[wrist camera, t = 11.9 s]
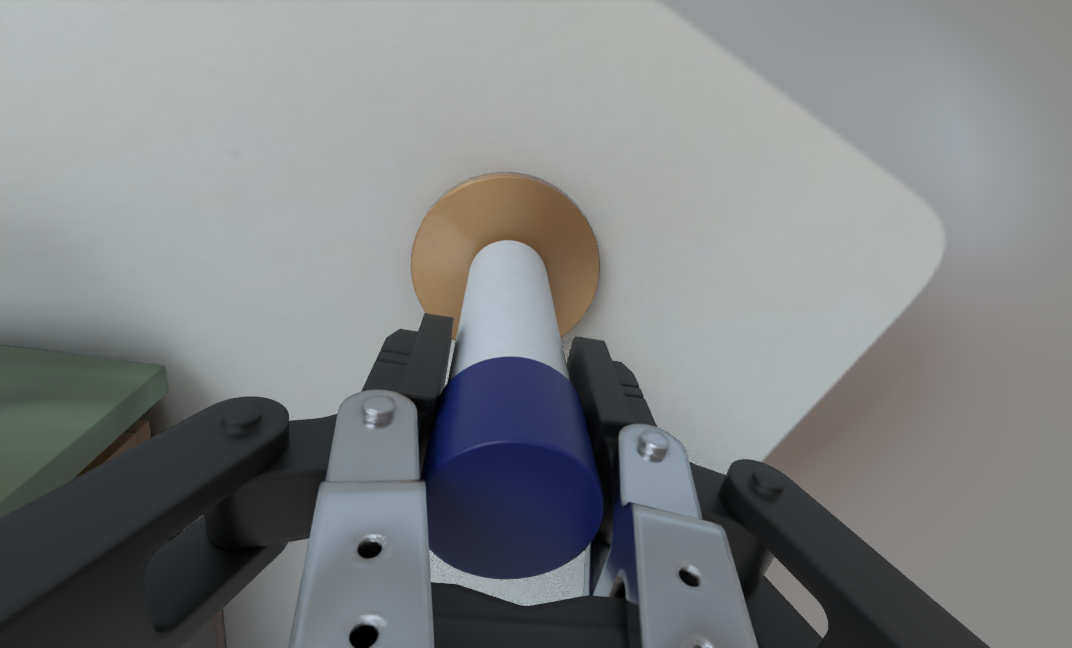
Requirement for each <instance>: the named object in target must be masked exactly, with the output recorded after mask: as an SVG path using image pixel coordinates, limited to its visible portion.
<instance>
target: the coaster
mask: <svg viewBox="0 0 1072 648" xmlns="http://www.w3.org/2000/svg"><path fill="white" fill-rule="evenodd" d="M503 240H512V241H518V242H521V243H524V244H526V245H528V246H530V247H531V248H532V249H534V250H535V251H536V252H537V253H538V254H539V256H540V257H541V259H542V260H543V262H544V265H545V268H546V272H547V276H548V281H549V286H550V290H551V295H552V300H553V305H554V309H555V314H556V319H557V323H558V328H559V333H560V337H562V336H564V335H565V334H567V333H568V332H569V331H570V330H571V329H572V328H573V327H574V326H575V325H576V324H577V323H578V322H579V321H580V319H581V318H582V317H583V315H584V314H585V312H586V311H587V309H588V308H589V306H590V304H591V302H592V300H593V298H594V295H595V292H596V289H597V285H598V280H599V271H600V260H599V251H598V246H597V242H596V239H595V236H594V234H593V231H592V229H591V227H590V225H589V223H588V221H587V219H586V218H585V216H584V215H583V213H582V212H581V210H580V209H579V208H578V206H577V205H576V204H575V203H574V202H573V201H572V200H571V199H570V198H569V197H568V196H567V195H566V194H564V193H563V192H562V191H561V190H559V189H558V188H556V187H555V186H553V185H551V184H549V183H548V182H545V181H543V180H541V179H538V178H536V177H532V176H528V175H525V174H518V173H491V174H484V175H481V176H478V177H474V178H471V179H469V180H467V181H464V182H462V183H460V184H458V185H457V186H455V187H454V188H452V189H450V190H449V191H448V192H447V193H445V194H444V195H443V196H442V197H441V198H440V199H439V200H438V201H437V202H436V203H435V204H434V205H433V206H432V207H431V209H430V210H429V212H428V213H427V215H426V216H425V218H424V220H423V221H422V223H421V225H420V227H419V229H418V232H417V234H416V237H415V240H414V243H413V249H412V254H411V273H412V281H413V285H414V288H415V292H416V294H417V297H418V299H419V302H420V304H421V305H422V307H423V309H424V311H425V312H426V313H427V314H434V315H441V316H447V317H454V324H453V331H452V339H454V340H456V337H457V332H458V327H459V322H460V317H461V311H462V306H463V301H464V296H465V291H466V286H467V281H468V275H469V270H470V266H471V264H472V261H473V260H474V258H475V256H476V255H477V254H478V253H479V252H480V251H481V250H482V249H483V248H484V247H486V246H488V245H489V244H492V243H494V242H498V241H503Z"/></svg>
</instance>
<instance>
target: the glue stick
mask: <svg viewBox="0 0 1072 648" xmlns="http://www.w3.org/2000/svg"><path fill="white" fill-rule="evenodd" d="M420 479H424V481H425V488H426V505H427V523H428V541H429V549H430V550H431V551H432V552H433V553H434V554H435V555H436V556H437V557H439V558H440V559H441V560H443V561H444V562H445V563H447V564H449V565H450V566H452V567H454V568H456V569H459V570H461V571H463V572H466V573H469V574H472V575H476V576H480V577H485V578H493V579H520V578H527V577H532V576H537V575H541V574H544V573H547V572H550V571H552V570H555V569H557V568H559V567H561V566H563V565H565V564H567V563H568V562H570V561H571V560H573V559H574V558H576V557H577V556H578V555H579V554H581V553H582V552H583V551H584V550H585V549H586V548H587V547H588V546H589V544H590V543H591V542H592V541H593V539H594V537H595V536H596V534H597V532H598V530H599V528H600V526H601V522H602V519H603V515H604V495H603V491H602V487H601V482H600V478H599V474H598V470H597V465H596V461H595V457H594V453H593V448H592V444H591V440H590V436H589V432H588V427H587V423H586V419H585V415H584V410H583V406H582V403H581V399H580V397H579V395H578V393H577V391H576V389H575V388H574V386H573V385H572V384H571V382H570V380H569V375H568V370H567V366H566V361H565V356H564V352H563V347H562V342H561V337H560V333H559V328H558V323H557V319H556V314H555V309H554V305H553V300H552V295H551V290H550V286H549V281H548V276H547V272H546V268H545V265H544V262H543V260H542V259H541V257H540V256H539V254H538V253H537V252H536V251H535V250H534V249H532V248H531V247H530V246H528V245H526V244H524V243H521V242H518V241H512V240H503V241H498V242H494V243H492V244H489V245H488V246H486V247H484V248H483V249H482V250H481V251H480V252H479V253H478V254H477V255H476V256H475V258H474V260H473V261H472V264H471V266H470V270H469V275H468V281H467V286H466V291H465V296H464V301H463V306H462V311H461V317H460V322H459V327H458V332H457V337H456V342H455V347H454V353H453V358H452V363H451V368H450V373H449V378H448V383H447V385H446V386H445V387H444V389H443V390H442V392H441V394H440V396H439V399H438V403H437V408H436V413H435V418H434V422H433V427H432V431H431V433H430V436H429V439H428V444H427V448H426V453H425V457H424V462H423V467H422V471H421V476H420Z"/></svg>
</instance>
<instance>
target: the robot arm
mask: <svg viewBox="0 0 1072 648" xmlns="http://www.w3.org/2000/svg"><path fill="white" fill-rule="evenodd" d="M453 324H454V317H447V316H441V315H434V314H427V313H425V314H424V317H423V319H422V322H421V325H420V328H419V331H418V332H417V331H410V330H403V329H399V330H398V331H396V332H394V333H393V334H391V335H390V336H388V337H387V338H386V340H385V342H384V344H383V346H382V348H381V352H380V353H379V355H378V357H377V360H376V361H375V363H374V365H373V368H372V370H371V372H370V374H369V376H368V378H367V380H366V383H365V385H364V387H363V389H362V391H361V392H359V393H356V394H354V395H352V396H350V397H348V398H347V399H345V400H344V401H343V402H342V404H341V405H340V407H339V410H338V414H335V415H332V416H328V417H323V418H317V419H306V420H293V421H289V414H288V411H287V409H286V408H285V407H284V406H283V405H282V404H280V403H278V402H277V401H274V400H271V399H268V398H263V397H239V398H232V399H228V400H224V401H222V402H219V403H216V404H214V405H212V406H210V407H208V408H206V409H204V410H202V411H200V412H199V413H197V414H195V415H193V416H191V417H189V418H187V419H185V420H184V421H182V422H180V423H178V424H176V425H174V426H172V427H170V428H169V429H167V430H165V431H163V432H161V433H159V434H157V435H155V436H154V437H152V438H150V439H148V440H146V441H144V442H142V443H140V444H139V445H137V446H135V447H133V448H131V449H129V450H127V451H125V452H124V453H122V454H120V455H118V456H116V457H114V458H112V459H110V460H109V461H107V462H105V463H103V464H101V465H99V466H97V467H95V468H94V469H92V470H90V471H88V472H86V473H84V474H82V475H80V476H79V477H77V478H75V479H73V480H71V481H69V482H67V483H65V484H64V485H62V486H60V487H58V488H56V489H54V490H52V491H50V492H49V493H47V494H45V495H43V496H41V497H39V498H37V499H36V500H34V501H32V502H30V503H28V504H26V505H24V506H22V507H21V508H19V509H17V510H15V511H13V512H11V513H9V514H7V515H6V516H4V517H2V518H0V648H181V647H182V646H183V645H184V644H185V643H186V642H187V641H188V640H189V639H190V638H191V637H192V636H193V635H195V634H196V633H197V632H198V631H199V630H200V629H201V628H202V627H203V626H204V625H205V624H206V623H207V622H208V621H209V620H210V619H211V618H212V617H214V616H215V615H216V614H217V613H218V612H219V611H220V610H221V609H222V608H223V607H224V606H225V605H226V604H227V603H228V602H229V601H230V600H231V599H233V598H234V597H235V596H236V595H237V594H238V593H239V592H240V591H241V590H242V589H243V588H244V587H245V586H246V585H247V584H248V583H249V582H251V581H252V580H253V579H254V578H255V577H256V576H257V575H258V574H259V573H260V572H261V571H262V570H263V569H264V568H265V567H266V566H267V565H268V564H270V563H271V562H272V561H273V560H274V559H275V558H276V557H277V556H278V555H279V554H280V553H281V552H282V551H283V550H284V548H285V547H286V545H287V544H288V542H291V541H296V540H302V539H308V538H309V542H308V548H307V553H306V558H305V563H304V568H303V574H302V579H301V584H300V589H299V594H298V599H297V605H296V610H295V615H294V620H293V625H292V631H291V636H290V641H289V646H288V648H990V647H989V646H988V645H986V644H985V643H984V642H983V641H982V640H980V639H979V638H978V637H977V636H975V634H973V633H972V632H971V631H970V630H968V629H967V628H966V627H965V626H964V625H963V624H961V623H960V622H959V621H958V620H957V619H956V618H954V617H953V616H952V615H951V614H950V613H948V612H947V611H946V610H945V609H944V608H943V607H941V606H940V605H939V604H938V603H937V602H935V601H934V600H933V599H932V598H931V597H930V596H928V595H927V594H926V593H925V592H924V591H922V590H921V589H920V588H919V587H917V586H916V585H915V584H914V583H913V582H912V581H910V580H909V579H908V578H907V577H906V576H905V575H903V574H902V573H901V572H900V571H899V570H898V569H896V568H895V567H894V566H893V565H892V564H890V563H889V562H888V561H887V560H886V559H884V558H883V557H882V556H881V555H880V554H878V553H877V552H876V551H875V550H874V549H873V548H871V547H870V546H869V545H868V544H867V543H866V542H864V541H863V540H862V539H861V538H859V537H858V536H857V535H856V534H855V533H854V532H852V531H851V530H850V529H849V528H848V527H846V526H845V525H844V524H843V523H842V522H841V521H839V520H838V519H837V518H836V517H835V516H834V515H832V514H831V513H830V512H829V511H828V510H826V509H825V508H824V507H823V506H822V505H821V504H819V503H818V502H817V501H816V500H814V499H813V498H812V497H811V496H810V495H809V494H808V493H806V492H805V491H804V490H803V489H801V488H800V487H799V486H798V485H797V484H796V483H794V482H793V481H792V480H791V479H790V478H789V477H787V476H786V475H785V474H783V473H782V472H780V471H779V470H777V469H775V468H773V467H771V466H769V465H767V464H764V463H762V462H758V461H754V460H746V459H743V460H738V461H735V462H733V463H732V464H731V466H730V468H729V470H728V472H727V474H726V475H724V474H721V473H718V472H715V471H712V470H709V469H706V468H704V467H701V466H698V465H695V464H693V463H691V462H689V459H688V455H687V452H686V450H685V448H684V446H683V445H682V444H681V442H680V441H679V440H677V439H676V438H675V437H674V436H673V435H671V434H669V433H668V432H666V431H664V430H662V429H660V428H657V426H656V423H655V421H654V419H653V417H652V414H651V412H650V410H649V407H648V405H647V403H646V401H645V399H643V397H644V396H643V394H642V391H641V389H639V385H638V382H637V380H636V378H635V375H634V374H633V373H632V372H631V371H630V370H629V369H628V368H627V367H626V366H625V365H624V364H623V363H622V362H618V361H612V359H611V357H610V354H609V352H608V349H607V346H606V344H605V342H604V341H602V340H595V339H589V338H582V337H575V338H574V340H573V342H572V346H571V349H570V353H569V357H568V361H567V365H566V366H567V370H568V375H569V380H570V382H571V384H572V385H573V386H574V388H575V389H576V391H577V393H578V395H579V397H580V399H581V403H582V406H583V410H584V415H585V419H586V423H587V427H588V432H589V436H590V440H591V444H592V448H593V453H594V457H595V461H596V465H597V470H598V474H599V478H600V482H601V487H602V491H603V495H604V515H603V519H602V522H601V526H600V528H599V530H598V532H597V534H596V536H595V537H594V539H593V541H592V542H591V543H590V544H589V546H588V547H587V548H586V549H585V568H584V591H583V596H582V597H577V598H571V599H566V600H560V601H555V602H549V603H544V604H538V605H533V606H521V605H517V604H514V603H511V602H508V601H505V600H502V599H499V598H496V597H493V596H490V595H487V594H484V593H481V592H478V591H475V590H472V589H469V588H466V587H463V586H460V585H457V584H446V583H433V582H431V577H430V559H429V541H428V523H427V505H426V488H425V481H424V479H420V476H421V471H422V467H423V462H424V457H425V453H426V448H427V444H428V439H429V436H430V433H431V431H432V427H433V422H434V418H435V413H436V408H437V403H438V399H439V396H440V394H441V392H442V390H443V389H444V386H445V380H446V373H447V366H448V359H449V352H450V345H451V338H452V331H453ZM203 514H204V516H203V517H202V518H200V519H199V520H197V521H196V522H195V523H193V524H192V525H191V526H189V527H188V528H187V529H185V530H184V531H183V532H181V533H180V534H178V535H177V536H176V537H174V538H173V539H172V540H170V541H169V542H168V543H166V544H165V545H164V546H162V545H163V544H164V543H165V542H167V541H168V540H169V539H171V538H172V537H173V536H175V535H176V534H177V533H179V532H180V531H181V530H183V529H184V528H186V527H187V526H188V525H190V524H191V523H192V522H194V521H195V520H196V519H198V518H199V517H201V516H202V515H203ZM161 546H162V547H161ZM160 547H161V548H160ZM774 557H776V558H777V559H778V560H779V561H780V562H781V563H782V564H783V565H784V566H785V567H786V568H787V569H788V571H789V572H791V574H792V575H793V576H794V577H795V578H796V579H797V580H798V581H799V582H800V583H801V584H802V585H803V586H804V587H805V588H806V589H807V590H808V591H809V592H810V593H811V594H812V595H813V596H814V597H815V598H816V599H817V600H818V601H819V603H820V604H821V605H822V607H823V609H824V611H825V613H826V615H827V619H828V631H827V633H826V635H825V636H824V638H822V637H821V636H820V635H819V634H818V633H817V632H816V631H815V630H814V629H813V628H812V627H811V626H810V624H809V623H808V622H807V621H806V620H805V619H804V618H803V617H802V616H801V615H800V614H799V613H798V612H797V610H796V609H795V608H794V607H793V606H792V605H791V604H790V603H789V602H788V601H787V600H786V599H785V598H784V597H783V595H782V594H781V593H780V592H779V591H778V590H777V589H776V588H775V587H774V586H773V585H772V584H771V582H770V581H769V580H768V579H767V578H766V577H765V576H764V574H765V572H766V571H767V569H768V567H769V566H770V564H771V562H772V560H773V559H774Z"/></svg>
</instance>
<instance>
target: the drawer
mask: <svg viewBox="0 0 1072 648" xmlns="http://www.w3.org/2000/svg"><path fill="white" fill-rule="evenodd" d="M167 392H168V384H167V377H166V370H165V366H160V365H152V364H144V363H137V362H129V361H121V360H114V359H106V358H98V357H91V356H83V355H75V354H67V353H60V352H52V351H44V350H37V349H29V348H21V347H14V346H6V345H0V518H2V517H4V516H6V515H7V514H9V513H11V512H13V511H15V510H17V509H19V508H21V507H22V506H24V505H26V504H28V503H30V502H32V501H34V500H36V499H37V498H39V497H41V496H43V495H45V494H47V493H49V492H50V491H52V490H54V489H56V488H58V487H60V486H62V485H64V484H65V483H67V482H69V481H71V480H73V479H75V478H77V477H79V476H80V475H82V474H84V473H86V472H88V471H90V470H92V469H94V468H95V467H97V466H99V465H101V464H103V463H105V462H107V461H109V460H110V459H112V458H114V457H116V456H118V455H120V454H122V453H124V452H125V451H127V450H129V449H131V448H133V447H135V446H137V445H139V444H140V443H142V442H144V441H146V440H148V439H150V438H151V432H150V426H149V422H148V421H145V420H138V419H139V418H140V417H141V416H142V415H143V414H144V413H145V412H146V411H147V410H148V409H150V408H151V407H152V406H153V405H154V404H155V403H156V402H157V401H158V400H159V399H160V398H162V397H163V396H164V395H165V394H166V393H167ZM166 543H168V541H167V542H165V543H164V544H163V545H162V546H164V545H165V544H166ZM162 546H161V547H162ZM161 547H160V548H161Z"/></svg>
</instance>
